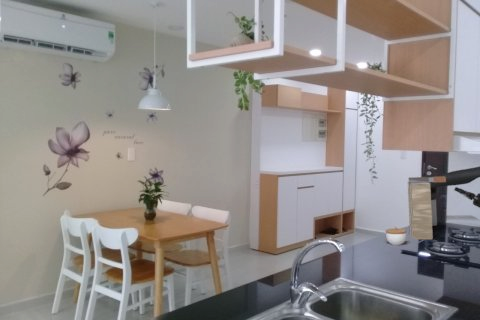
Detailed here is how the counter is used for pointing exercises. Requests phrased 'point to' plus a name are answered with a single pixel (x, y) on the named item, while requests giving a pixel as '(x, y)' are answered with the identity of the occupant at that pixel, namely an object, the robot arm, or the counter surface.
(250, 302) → the counter surface
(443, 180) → the breaker handle
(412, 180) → the birch stand
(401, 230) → the lidded jar
